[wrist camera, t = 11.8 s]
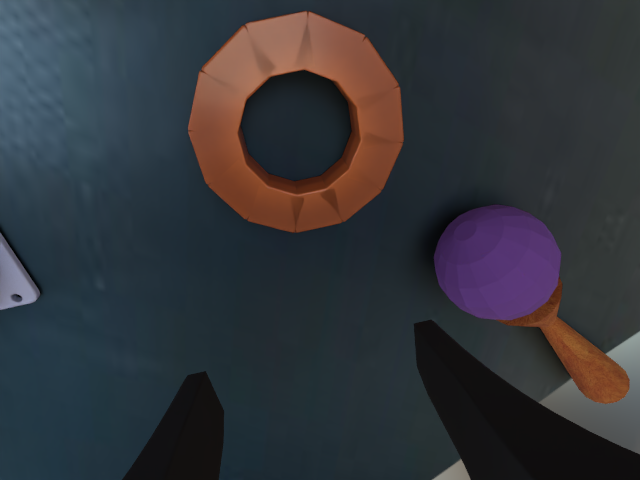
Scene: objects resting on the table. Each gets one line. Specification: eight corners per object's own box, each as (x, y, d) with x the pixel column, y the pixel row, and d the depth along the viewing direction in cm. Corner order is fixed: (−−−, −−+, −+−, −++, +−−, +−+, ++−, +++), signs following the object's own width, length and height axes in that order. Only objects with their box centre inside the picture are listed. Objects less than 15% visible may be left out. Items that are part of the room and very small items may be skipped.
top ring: (231, 230, 20) (228, 248, 19) (168, 40, 16) (156, 41, 14) (396, 194, 21) (409, 208, 19) (380, -3, 16) (394, -8, 14)
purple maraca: (585, 435, 27) (430, 307, 17) (542, 362, 32) (402, 228, 22) (677, 403, 25) (557, 233, 15) (617, 329, 29) (495, 163, 20)
